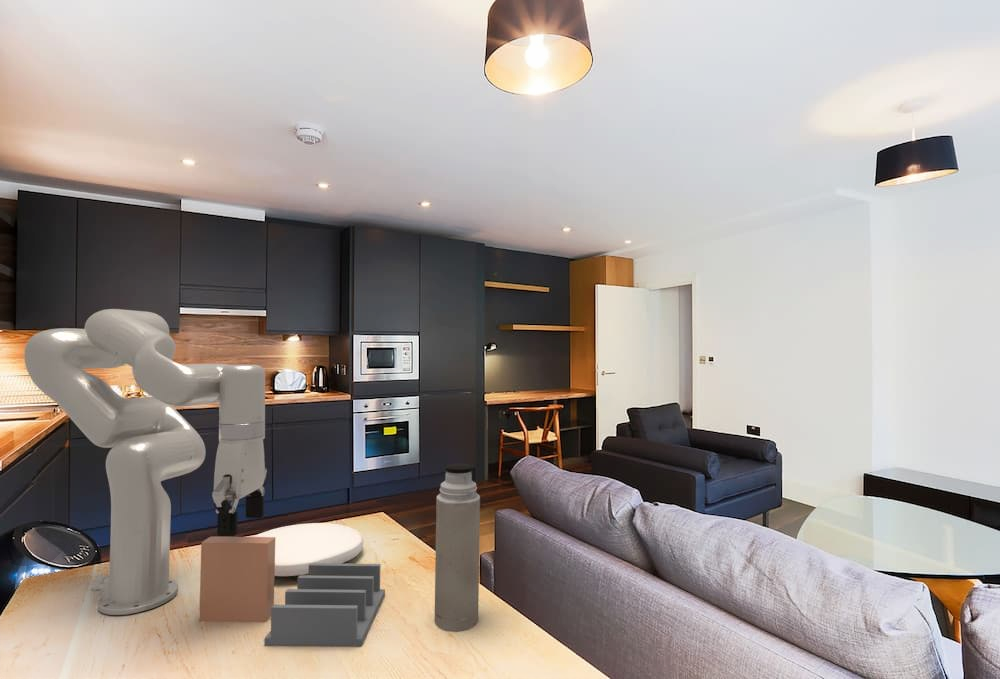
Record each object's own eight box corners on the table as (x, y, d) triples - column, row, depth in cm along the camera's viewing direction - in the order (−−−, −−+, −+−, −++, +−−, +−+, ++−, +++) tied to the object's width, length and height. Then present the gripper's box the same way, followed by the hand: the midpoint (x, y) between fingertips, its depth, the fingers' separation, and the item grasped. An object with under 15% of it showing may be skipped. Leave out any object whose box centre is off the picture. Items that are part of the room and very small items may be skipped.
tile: (199, 621, 91) (201, 542, 91) (208, 612, 94) (210, 536, 94) (266, 622, 91) (268, 543, 91) (273, 613, 94) (275, 537, 94)
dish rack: (264, 645, 84) (265, 607, 84) (304, 594, 101) (305, 563, 101) (361, 646, 84) (362, 608, 84) (384, 595, 101) (385, 564, 101)
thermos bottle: (429, 612, 95) (432, 462, 95) (470, 605, 98) (472, 459, 98) (440, 635, 87) (443, 471, 88) (484, 626, 90) (486, 468, 91)
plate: (289, 515, 135) (382, 524, 130) (287, 540, 134) (380, 550, 129) (210, 542, 108) (324, 554, 102) (206, 574, 107) (321, 588, 102)
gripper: (245, 425, 102) (244, 511, 101) (193, 440, 84) (192, 544, 84) (282, 425, 102) (282, 511, 101) (238, 439, 84) (238, 543, 84)
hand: (241, 525), depth 92 cm, fingers open, 9 cm apart
